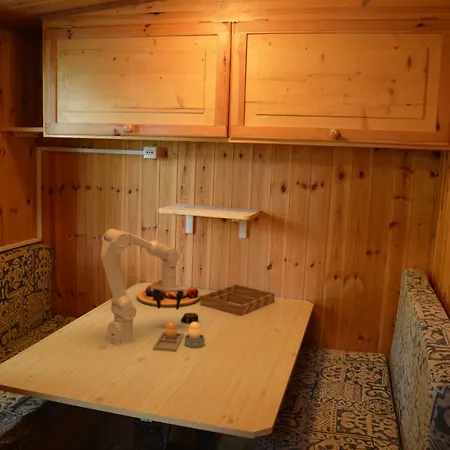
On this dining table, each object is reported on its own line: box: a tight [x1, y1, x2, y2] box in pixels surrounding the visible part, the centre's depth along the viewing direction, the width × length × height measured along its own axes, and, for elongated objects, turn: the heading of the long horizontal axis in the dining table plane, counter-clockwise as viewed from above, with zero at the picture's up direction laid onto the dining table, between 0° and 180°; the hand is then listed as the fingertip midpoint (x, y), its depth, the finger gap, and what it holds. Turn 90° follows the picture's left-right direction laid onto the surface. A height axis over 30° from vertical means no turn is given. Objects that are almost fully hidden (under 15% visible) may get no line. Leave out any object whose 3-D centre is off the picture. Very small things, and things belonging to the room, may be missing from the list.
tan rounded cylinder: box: [188, 321, 201, 340], centre depth 200 cm, size 4×4×7 cm
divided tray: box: [152, 331, 185, 353], centre depth 202 cm, size 16×9×2 cm, turn 174°
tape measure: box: [180, 312, 199, 325], centre depth 227 cm, size 7×7×4 cm
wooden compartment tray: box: [199, 284, 275, 317], centre depth 256 cm, size 29×24×4 cm
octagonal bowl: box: [184, 333, 205, 349], centre depth 201 cm, size 8×8×4 cm
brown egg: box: [164, 321, 178, 340], centre depth 205 cm, size 4×4×7 cm
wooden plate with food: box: [136, 279, 202, 308], centre depth 262 cm, size 32×32×8 cm
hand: (168, 308), depth 215 cm, fingers open, 7 cm apart
